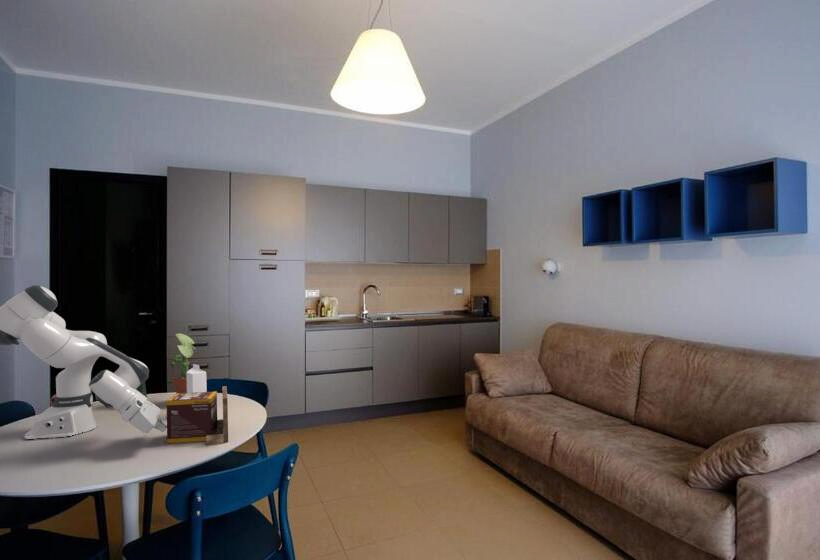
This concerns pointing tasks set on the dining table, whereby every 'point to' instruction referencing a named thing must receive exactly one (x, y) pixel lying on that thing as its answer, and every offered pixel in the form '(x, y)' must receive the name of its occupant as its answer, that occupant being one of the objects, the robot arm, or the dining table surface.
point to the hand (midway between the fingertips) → (165, 429)
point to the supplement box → (191, 416)
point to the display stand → (221, 424)
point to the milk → (196, 380)
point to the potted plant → (182, 362)
